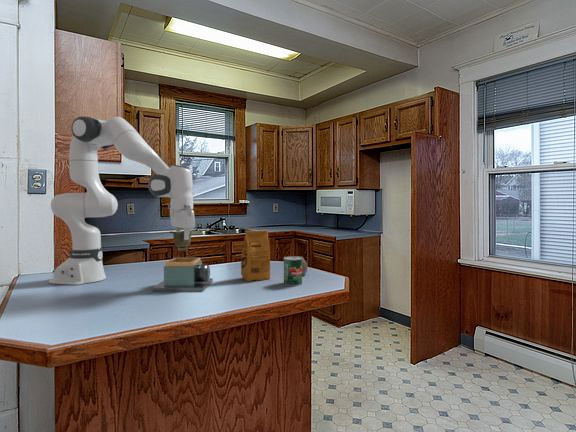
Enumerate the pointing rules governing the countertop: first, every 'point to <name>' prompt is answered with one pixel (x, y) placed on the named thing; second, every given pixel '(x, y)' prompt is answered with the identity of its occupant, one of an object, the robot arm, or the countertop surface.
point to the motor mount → (184, 276)
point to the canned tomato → (292, 271)
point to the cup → (181, 240)
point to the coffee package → (255, 256)
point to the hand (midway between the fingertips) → (182, 238)
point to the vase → (303, 266)
